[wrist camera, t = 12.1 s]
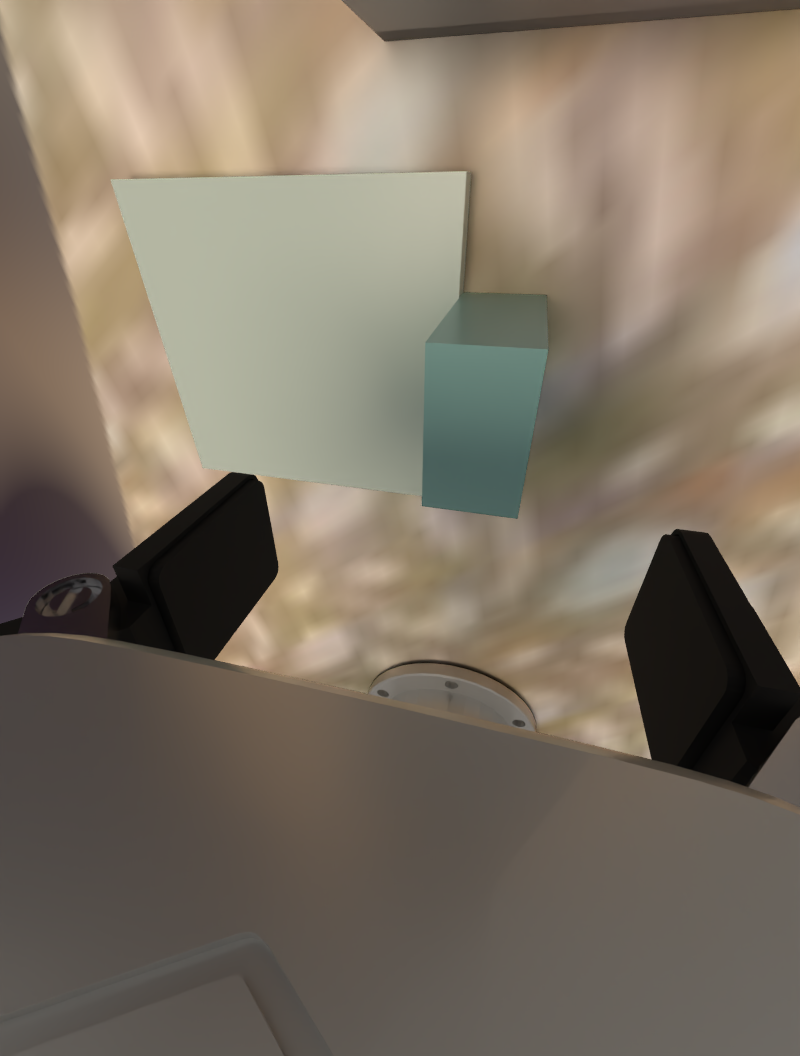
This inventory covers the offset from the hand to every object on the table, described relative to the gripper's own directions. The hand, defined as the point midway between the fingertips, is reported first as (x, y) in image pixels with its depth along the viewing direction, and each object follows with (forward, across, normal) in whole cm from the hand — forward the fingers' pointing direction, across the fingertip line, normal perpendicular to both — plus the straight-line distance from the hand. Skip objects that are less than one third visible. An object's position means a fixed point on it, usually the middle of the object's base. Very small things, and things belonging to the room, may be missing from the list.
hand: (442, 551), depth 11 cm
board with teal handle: (+10, +6, -2) cm, 12 cm away
